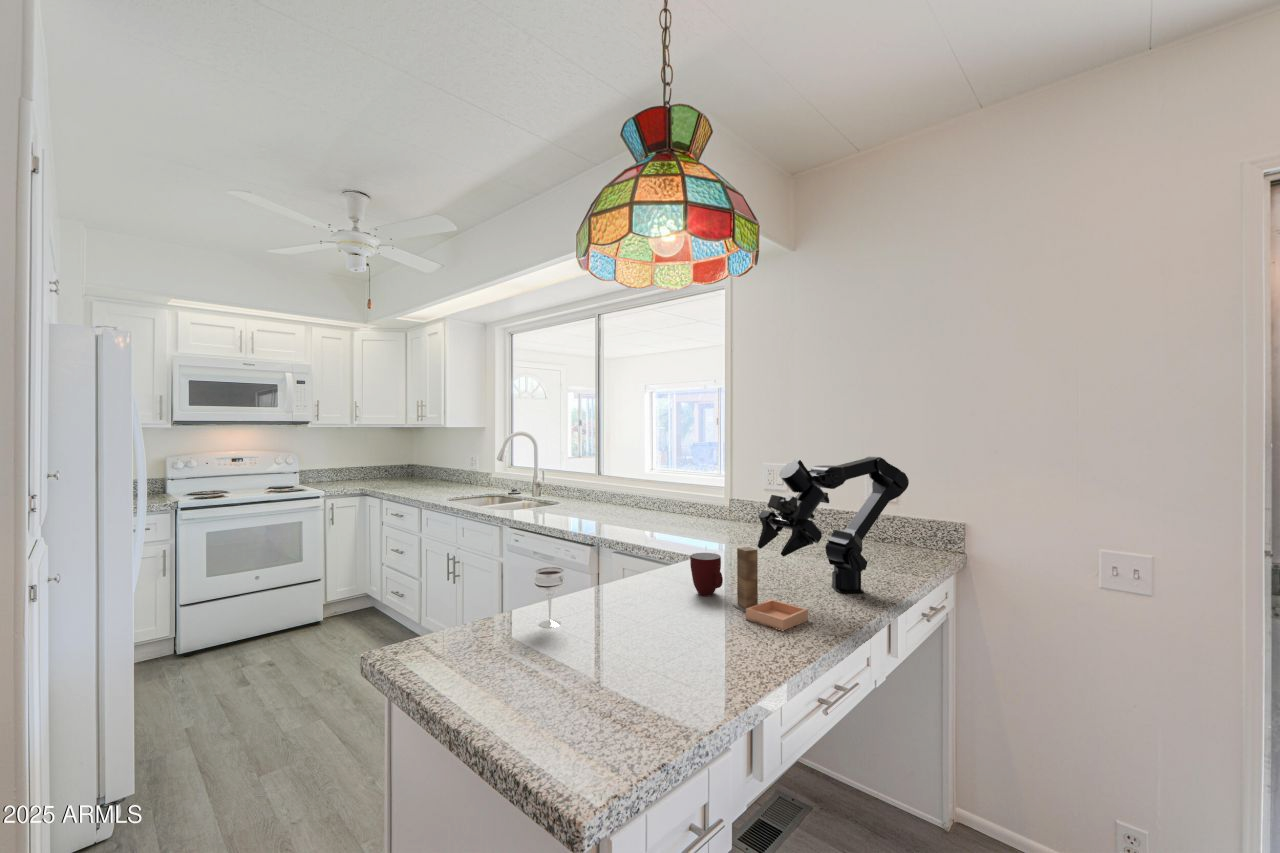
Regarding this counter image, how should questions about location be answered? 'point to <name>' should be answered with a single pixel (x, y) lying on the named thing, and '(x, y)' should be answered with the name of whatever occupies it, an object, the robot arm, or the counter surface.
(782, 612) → the dish
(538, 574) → the wineglass
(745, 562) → the wood grain bar
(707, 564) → the mug
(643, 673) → the counter surface
